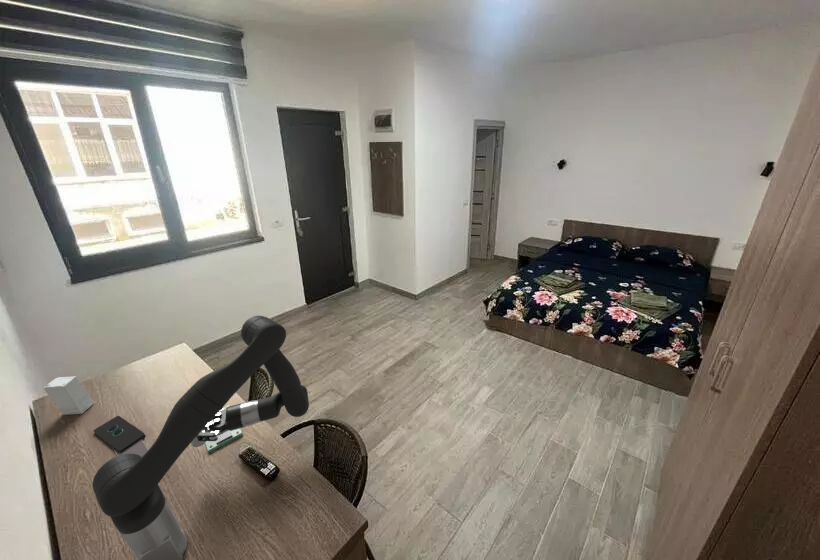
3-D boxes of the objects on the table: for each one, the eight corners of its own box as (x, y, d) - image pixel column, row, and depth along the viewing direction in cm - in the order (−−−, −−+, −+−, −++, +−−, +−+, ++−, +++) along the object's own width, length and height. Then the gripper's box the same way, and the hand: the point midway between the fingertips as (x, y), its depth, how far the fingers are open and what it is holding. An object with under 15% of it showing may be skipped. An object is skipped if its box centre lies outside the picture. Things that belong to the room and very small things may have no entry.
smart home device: (118, 414, 126) (145, 433, 117) (120, 417, 126) (147, 436, 118) (91, 430, 119) (118, 451, 110) (93, 433, 120) (120, 455, 111)
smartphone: (136, 431, 119) (150, 452, 111) (137, 433, 120) (151, 454, 111) (111, 446, 114) (124, 468, 106) (112, 447, 114) (125, 470, 106)
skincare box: (94, 403, 133) (78, 375, 127) (81, 414, 128) (64, 386, 122) (74, 404, 133) (57, 376, 127) (60, 415, 128) (41, 387, 122)
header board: (242, 434, 117) (241, 430, 116) (208, 453, 110) (206, 448, 110) (230, 406, 129) (228, 402, 129) (199, 421, 123) (197, 417, 122)
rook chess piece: (204, 433, 105) (197, 415, 102) (210, 440, 102) (203, 422, 99) (189, 442, 102) (181, 424, 99) (194, 450, 99) (187, 431, 96)
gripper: (244, 391, 109) (185, 405, 103) (239, 422, 97) (172, 440, 91) (249, 407, 112) (192, 422, 106) (245, 440, 100) (181, 458, 94)
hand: (183, 430), depth 99 cm, fingers closed on rook chess piece, 3 cm apart
